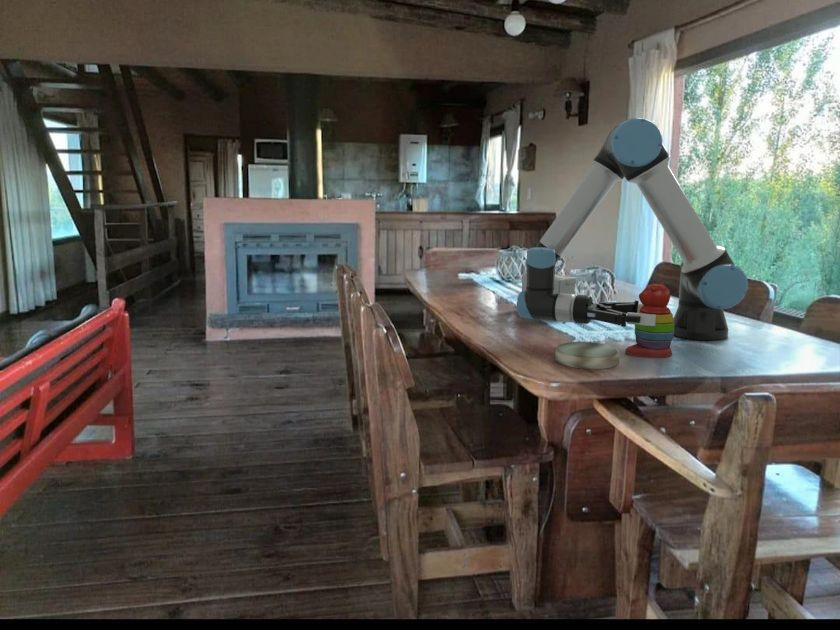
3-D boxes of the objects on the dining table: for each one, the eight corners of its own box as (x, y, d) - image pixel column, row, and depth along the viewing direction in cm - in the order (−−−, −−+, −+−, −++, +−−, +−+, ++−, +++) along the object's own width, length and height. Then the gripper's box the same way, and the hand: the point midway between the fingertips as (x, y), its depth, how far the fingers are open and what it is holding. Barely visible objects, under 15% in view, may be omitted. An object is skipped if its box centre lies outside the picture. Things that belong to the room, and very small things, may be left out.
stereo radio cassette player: (520, 309, 223) (521, 252, 219) (540, 307, 226) (541, 251, 222) (556, 320, 204) (558, 257, 200) (577, 318, 207) (579, 256, 203)
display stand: (619, 355, 160) (620, 343, 160) (617, 371, 146) (618, 358, 146) (558, 351, 165) (559, 339, 164) (551, 366, 151) (551, 353, 151)
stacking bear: (643, 346, 169) (647, 279, 166) (680, 353, 162) (685, 283, 159) (622, 353, 162) (625, 283, 159) (659, 361, 155) (664, 288, 152)
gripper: (586, 314, 181) (666, 321, 171) (561, 331, 159) (650, 340, 149) (587, 288, 179) (668, 293, 169) (562, 302, 158) (652, 308, 148)
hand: (660, 315), depth 159 cm, fingers open, 13 cm apart
